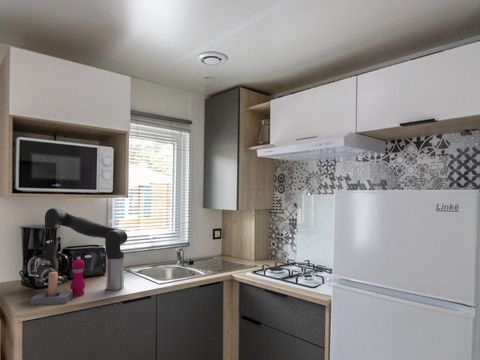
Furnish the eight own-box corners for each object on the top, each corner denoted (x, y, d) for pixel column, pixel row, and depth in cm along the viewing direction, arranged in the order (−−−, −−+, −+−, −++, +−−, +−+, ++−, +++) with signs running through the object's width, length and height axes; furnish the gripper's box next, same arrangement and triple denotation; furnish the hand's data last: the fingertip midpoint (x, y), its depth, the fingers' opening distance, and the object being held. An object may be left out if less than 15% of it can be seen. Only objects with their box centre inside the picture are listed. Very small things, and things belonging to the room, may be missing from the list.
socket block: (72, 297, 176) (72, 291, 176) (66, 303, 166) (66, 297, 167) (39, 298, 174) (39, 292, 174) (30, 304, 164) (30, 298, 164)
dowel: (57, 299, 172) (59, 271, 173) (55, 302, 168) (56, 273, 169) (49, 299, 172) (50, 271, 172) (46, 302, 168) (47, 273, 168)
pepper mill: (71, 297, 176) (72, 258, 177) (68, 293, 182) (70, 256, 183) (86, 295, 181) (87, 257, 181) (83, 291, 186) (84, 255, 187)
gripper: (34, 271, 179) (37, 277, 165) (64, 268, 187) (69, 274, 173) (34, 285, 178) (36, 293, 165) (64, 281, 186) (68, 288, 173)
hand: (53, 283), depth 169 cm, fingers open, 8 cm apart
